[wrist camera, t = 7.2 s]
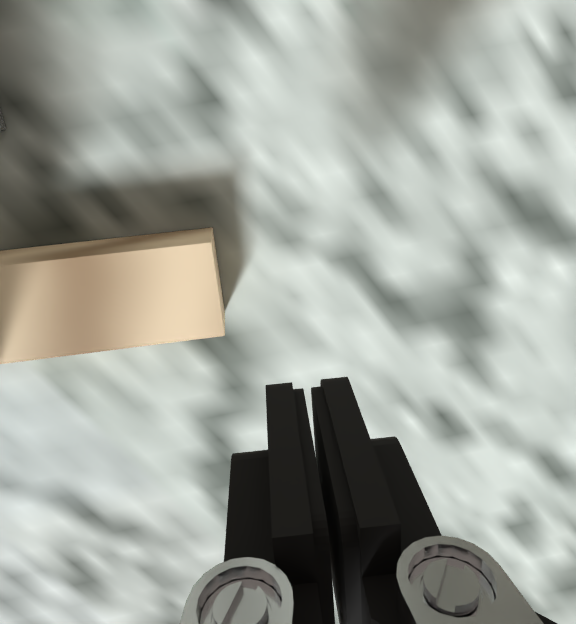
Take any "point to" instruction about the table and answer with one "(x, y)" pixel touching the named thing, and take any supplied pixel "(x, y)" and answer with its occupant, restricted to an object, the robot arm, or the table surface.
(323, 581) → the robot arm
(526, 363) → the table surface
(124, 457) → the table surface
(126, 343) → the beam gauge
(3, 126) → the flange plate
